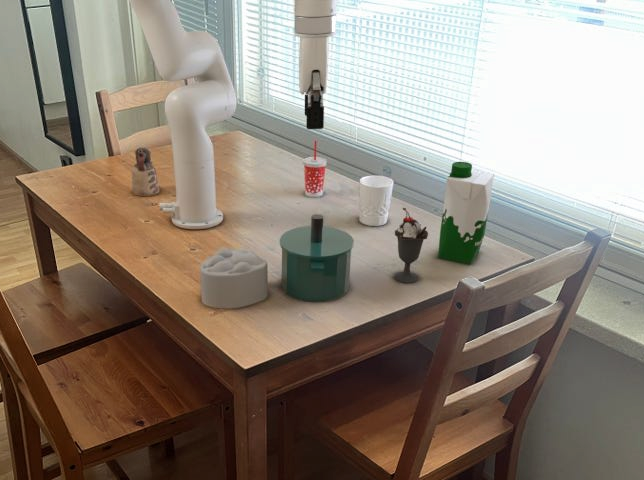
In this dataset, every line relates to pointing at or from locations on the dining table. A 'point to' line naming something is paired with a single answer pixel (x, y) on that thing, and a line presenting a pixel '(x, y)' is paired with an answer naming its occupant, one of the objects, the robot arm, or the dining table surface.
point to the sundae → (409, 246)
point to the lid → (316, 240)
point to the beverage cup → (314, 174)
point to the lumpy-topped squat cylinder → (233, 279)
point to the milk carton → (464, 213)
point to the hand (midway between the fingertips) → (313, 121)
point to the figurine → (144, 174)
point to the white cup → (375, 199)
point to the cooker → (315, 277)
